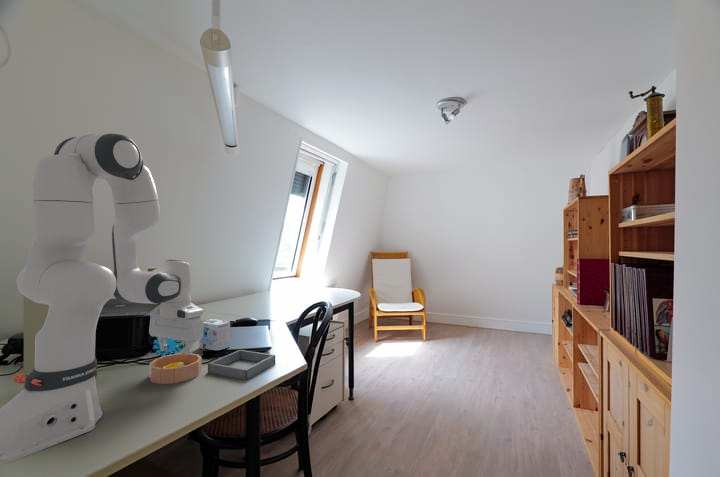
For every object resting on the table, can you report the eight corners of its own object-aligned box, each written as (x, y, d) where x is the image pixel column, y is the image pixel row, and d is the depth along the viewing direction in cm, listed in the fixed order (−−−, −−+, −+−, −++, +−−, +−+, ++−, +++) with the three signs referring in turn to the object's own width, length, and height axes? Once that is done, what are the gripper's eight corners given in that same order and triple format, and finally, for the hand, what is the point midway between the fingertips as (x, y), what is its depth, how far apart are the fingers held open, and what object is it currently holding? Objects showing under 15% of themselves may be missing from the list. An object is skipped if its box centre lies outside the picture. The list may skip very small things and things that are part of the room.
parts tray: (246, 379, 110) (246, 370, 110) (207, 372, 116) (207, 363, 116) (275, 363, 125) (275, 355, 125) (239, 357, 131) (240, 349, 131)
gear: (156, 357, 125) (151, 333, 130) (150, 367, 127) (145, 343, 132) (187, 354, 134) (181, 332, 139) (180, 362, 136) (175, 340, 141)
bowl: (173, 386, 105) (173, 371, 105) (139, 379, 110) (139, 364, 110) (210, 369, 118) (210, 356, 118) (178, 363, 124) (178, 351, 124)
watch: (173, 360, 119) (187, 359, 117) (173, 368, 118) (188, 368, 117) (158, 366, 113) (174, 365, 111) (159, 375, 113) (175, 374, 111)
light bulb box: (198, 348, 141) (198, 321, 141) (211, 344, 147) (211, 318, 147) (217, 352, 136) (217, 324, 136) (230, 347, 142) (230, 321, 142)
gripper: (144, 308, 115) (143, 350, 114) (191, 314, 107) (190, 359, 107) (161, 305, 121) (160, 345, 120) (207, 310, 113) (206, 353, 113)
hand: (174, 352), depth 114 cm, fingers open, 8 cm apart
